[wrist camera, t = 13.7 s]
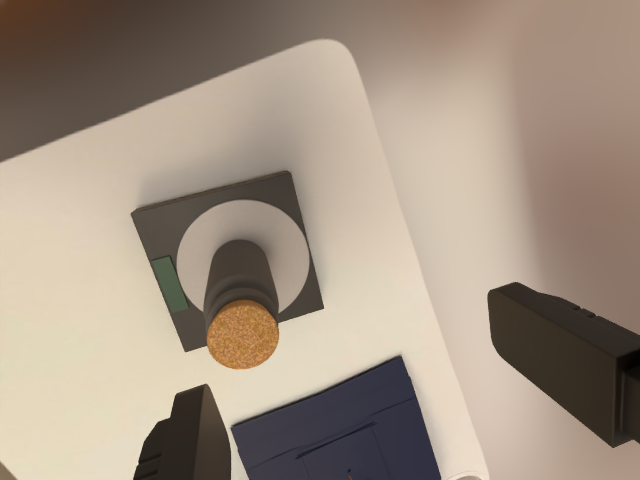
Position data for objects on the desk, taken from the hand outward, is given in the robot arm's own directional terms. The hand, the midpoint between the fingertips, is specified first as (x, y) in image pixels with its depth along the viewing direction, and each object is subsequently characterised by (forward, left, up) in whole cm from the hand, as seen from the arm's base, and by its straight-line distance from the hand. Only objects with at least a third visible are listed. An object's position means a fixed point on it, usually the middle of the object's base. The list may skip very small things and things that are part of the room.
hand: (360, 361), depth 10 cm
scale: (+6, -5, -32) cm, 33 cm away
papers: (+41, +1, -32) cm, 52 cm away
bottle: (+6, -5, -29) cm, 30 cm away
